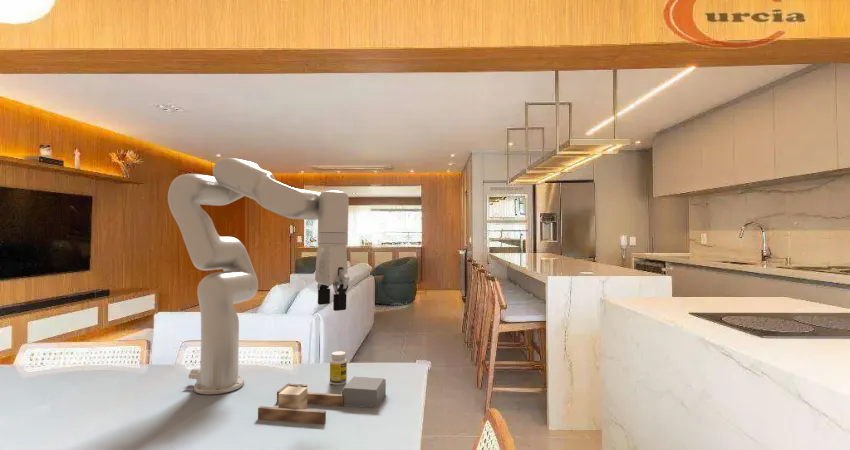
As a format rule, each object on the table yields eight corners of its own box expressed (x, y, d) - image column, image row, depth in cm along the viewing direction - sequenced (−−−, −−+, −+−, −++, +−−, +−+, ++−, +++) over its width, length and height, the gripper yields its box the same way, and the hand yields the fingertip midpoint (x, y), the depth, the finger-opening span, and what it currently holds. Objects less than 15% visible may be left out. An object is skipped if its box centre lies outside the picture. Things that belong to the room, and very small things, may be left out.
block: (278, 414, 103) (278, 393, 103) (288, 406, 108) (288, 386, 108) (298, 416, 102) (298, 395, 103) (307, 407, 107) (307, 387, 107)
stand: (341, 405, 109) (341, 388, 109) (353, 392, 118) (353, 376, 118) (376, 408, 107) (377, 390, 107) (385, 394, 116) (385, 378, 116)
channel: (255, 418, 101) (256, 407, 101) (287, 392, 117) (287, 383, 117) (328, 424, 98) (328, 413, 98) (350, 397, 114) (350, 387, 114)
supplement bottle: (342, 386, 122) (343, 355, 122) (326, 384, 123) (327, 354, 123) (349, 380, 127) (349, 351, 127) (333, 379, 128) (334, 350, 128)
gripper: (306, 238, 116) (304, 303, 116) (333, 241, 102) (331, 314, 102) (332, 238, 120) (331, 300, 120) (361, 240, 106) (360, 311, 106)
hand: (331, 307), depth 111 cm, fingers open, 9 cm apart
